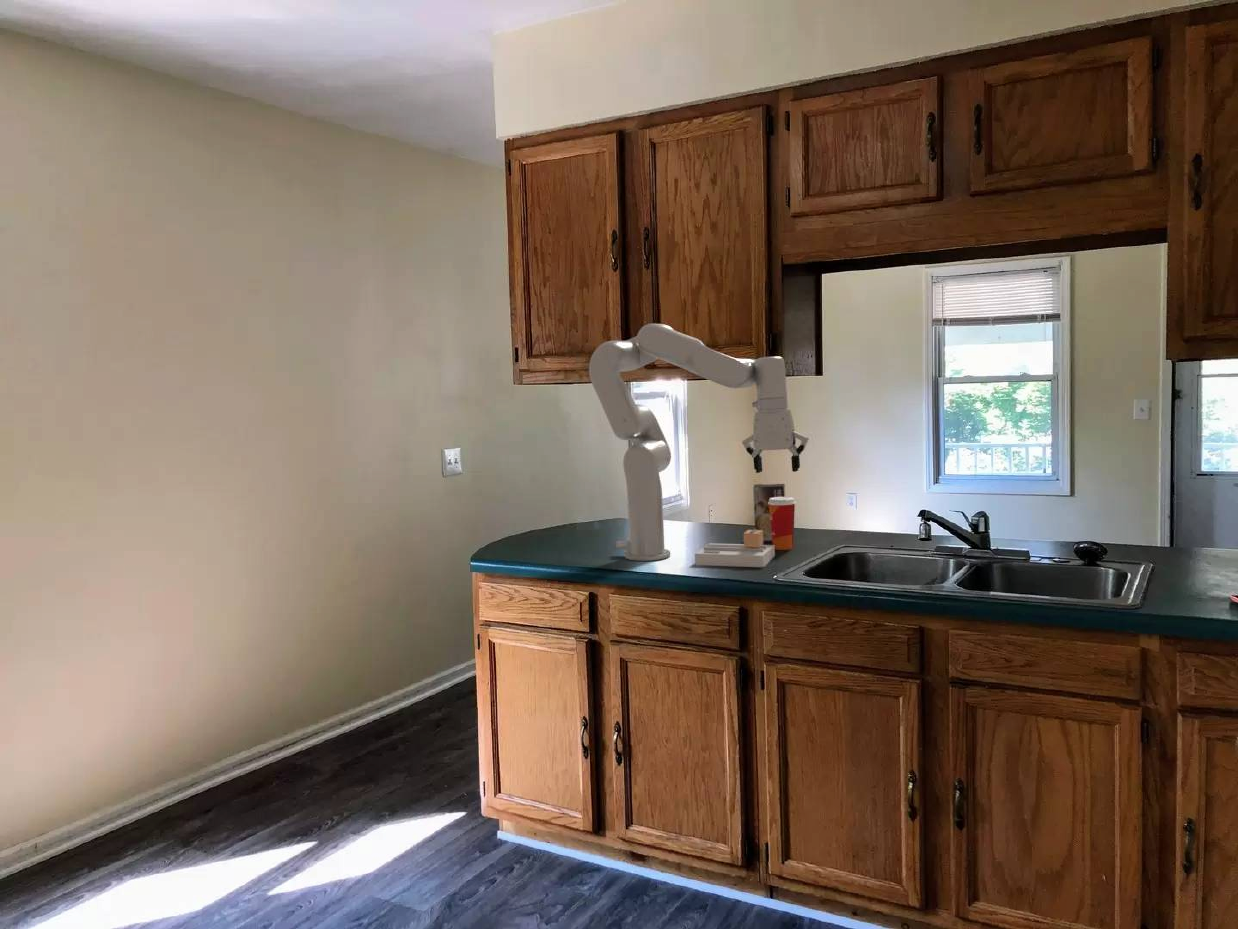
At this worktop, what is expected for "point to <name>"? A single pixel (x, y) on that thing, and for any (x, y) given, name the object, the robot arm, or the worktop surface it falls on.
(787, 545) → the paper cup
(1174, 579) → the worktop surface
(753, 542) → the fader knob
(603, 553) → the worktop surface
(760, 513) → the coffee box
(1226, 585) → the worktop surface
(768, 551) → the panel
